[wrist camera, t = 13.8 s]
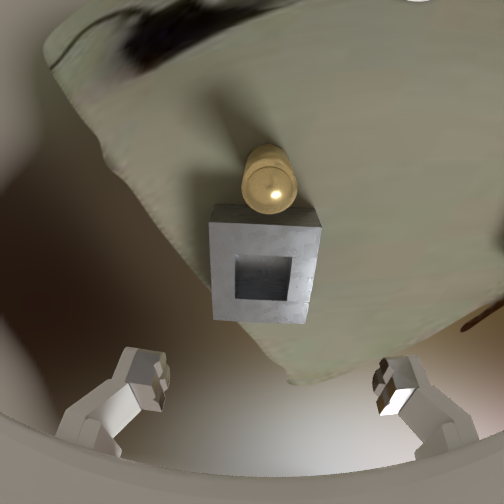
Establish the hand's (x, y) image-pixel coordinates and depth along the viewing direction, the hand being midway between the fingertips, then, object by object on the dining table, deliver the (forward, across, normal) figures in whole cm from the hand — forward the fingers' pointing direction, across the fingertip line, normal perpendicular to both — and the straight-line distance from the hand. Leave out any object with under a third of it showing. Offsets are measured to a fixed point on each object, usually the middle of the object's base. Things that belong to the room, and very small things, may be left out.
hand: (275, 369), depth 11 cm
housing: (+27, 0, +12) cm, 30 cm away
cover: (+27, 0, 0) cm, 27 cm away
